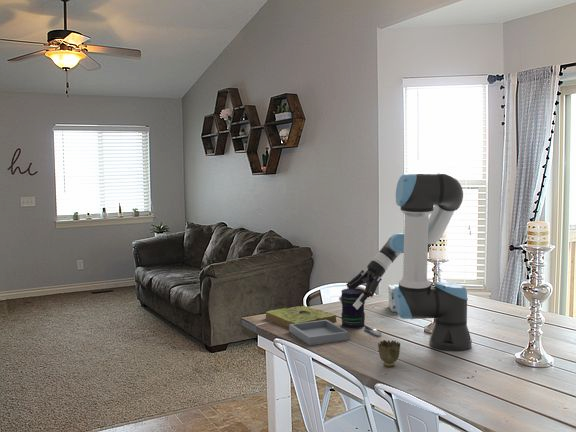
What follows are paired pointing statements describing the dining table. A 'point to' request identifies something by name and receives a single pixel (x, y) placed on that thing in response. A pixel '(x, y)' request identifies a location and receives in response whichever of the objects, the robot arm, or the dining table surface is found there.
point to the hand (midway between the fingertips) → (347, 304)
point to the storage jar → (352, 309)
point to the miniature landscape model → (298, 315)
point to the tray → (318, 332)
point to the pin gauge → (372, 331)
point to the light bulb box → (392, 297)
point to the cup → (389, 352)
